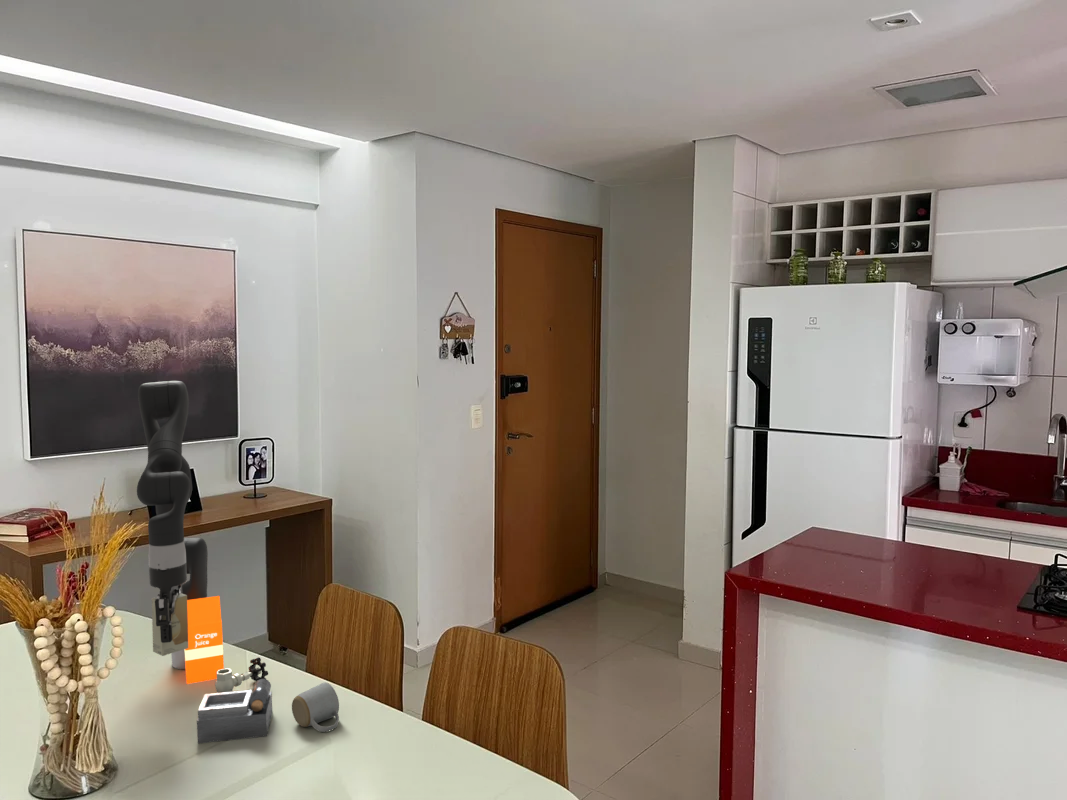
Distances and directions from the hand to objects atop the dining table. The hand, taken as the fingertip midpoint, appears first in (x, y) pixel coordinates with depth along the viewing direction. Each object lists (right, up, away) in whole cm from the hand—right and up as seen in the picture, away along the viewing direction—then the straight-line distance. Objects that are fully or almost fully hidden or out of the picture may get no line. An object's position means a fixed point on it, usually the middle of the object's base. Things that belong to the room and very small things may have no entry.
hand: (171, 635), depth 181 cm
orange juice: (-3, -18, +26) cm, 32 cm away
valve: (+9, -19, +17) cm, 27 cm away
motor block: (+15, -20, -1) cm, 25 cm away
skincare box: (0, -4, 0) cm, 4 cm away
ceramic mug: (+33, -20, +1) cm, 38 cm away
